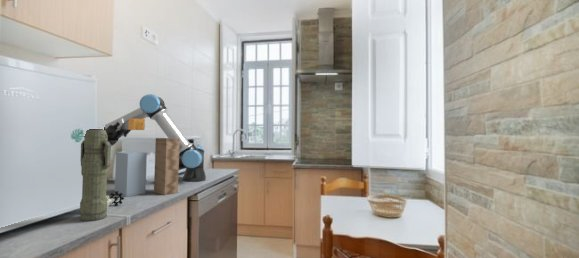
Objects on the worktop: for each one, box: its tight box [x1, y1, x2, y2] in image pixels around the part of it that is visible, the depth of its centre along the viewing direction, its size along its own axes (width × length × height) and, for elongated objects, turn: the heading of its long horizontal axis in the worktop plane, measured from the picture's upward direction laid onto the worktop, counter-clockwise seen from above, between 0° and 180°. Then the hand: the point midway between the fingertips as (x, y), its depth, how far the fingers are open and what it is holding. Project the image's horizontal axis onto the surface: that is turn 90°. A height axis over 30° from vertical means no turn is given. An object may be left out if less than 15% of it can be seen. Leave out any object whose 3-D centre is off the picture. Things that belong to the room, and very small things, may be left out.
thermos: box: [79, 129, 112, 222], centre depth 112 cm, size 9×12×35 cm
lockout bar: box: [117, 118, 146, 131], centre depth 157 cm, size 6×20×6 cm, turn 56°
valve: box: [106, 191, 125, 213], centre depth 125 cm, size 7×7×12 cm
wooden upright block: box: [153, 137, 180, 196], centre depth 158 cm, size 8×10×30 cm
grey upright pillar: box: [114, 150, 148, 198], centre depth 154 cm, size 10×12×22 cm
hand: (127, 121), depth 158 cm, fingers closed on lockout bar, 4 cm apart
